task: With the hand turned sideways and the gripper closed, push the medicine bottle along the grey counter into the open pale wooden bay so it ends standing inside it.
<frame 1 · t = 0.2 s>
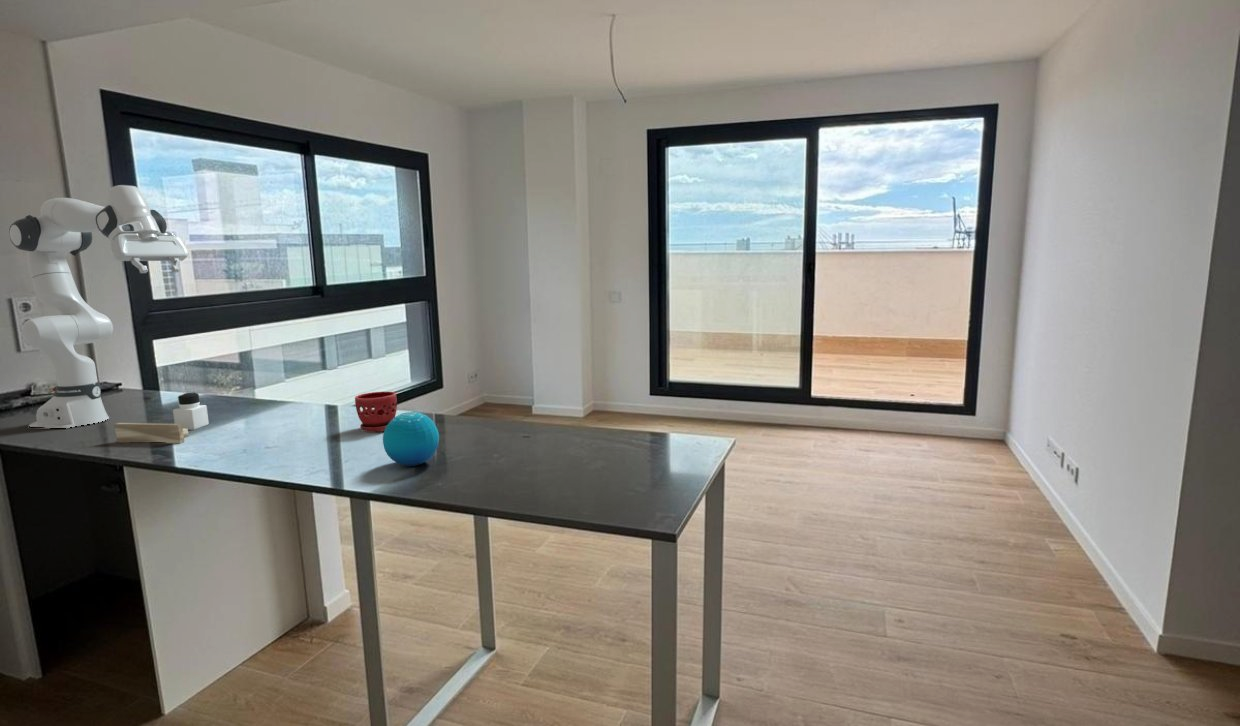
hand: (160, 272, 199), 54 cm above the kitchen counter, tool tilted 30°, fingers open, 8 cm apart
decorative orb: (413, 465, 180), on the kitchen counter
medicine bottle: (192, 427, 222), on the kitchen counter
wooden bay: (164, 437, 210), on the kitchen counter
plant pot: (378, 429, 217), on the kitchen counter
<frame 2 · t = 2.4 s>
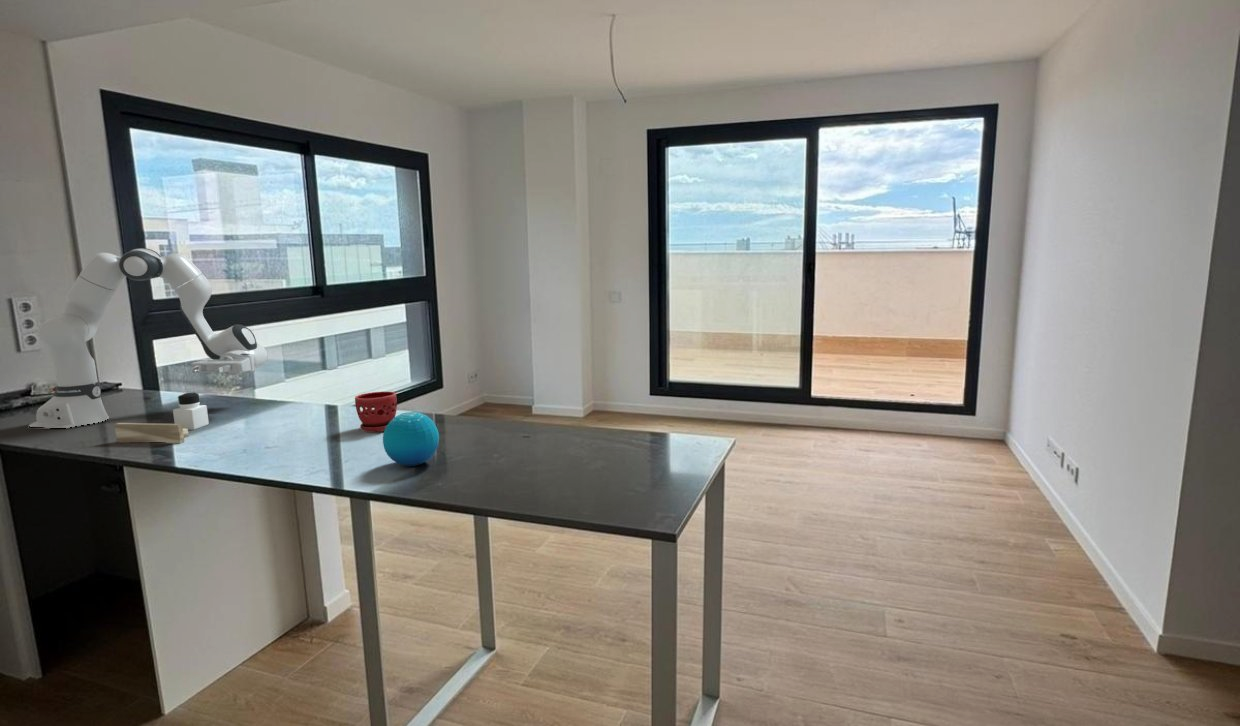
hand: (205, 370, 228), 18 cm above the kitchen counter, tool horizontal, fingers open, 8 cm apart
nothing on the kitchen counter moved.
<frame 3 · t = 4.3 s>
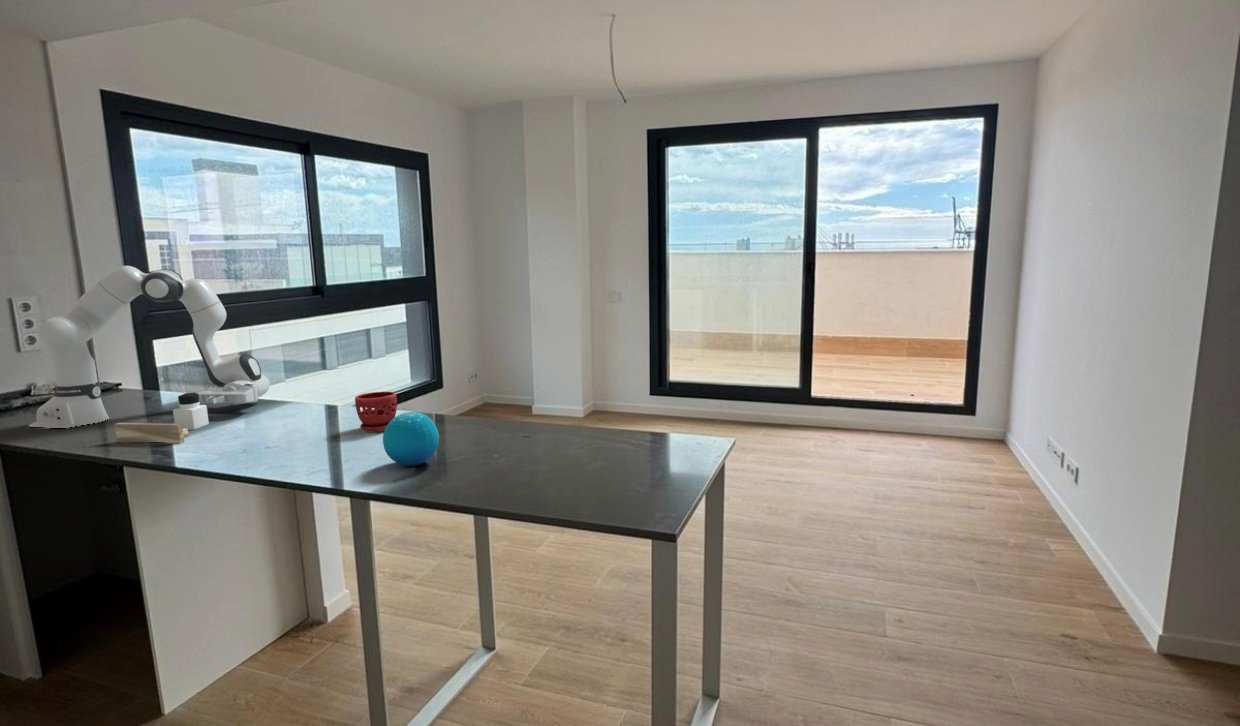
hand: (209, 401, 230), 7 cm above the kitchen counter, tool horizontal, fingers closed
nothing on the kitchen counter moved.
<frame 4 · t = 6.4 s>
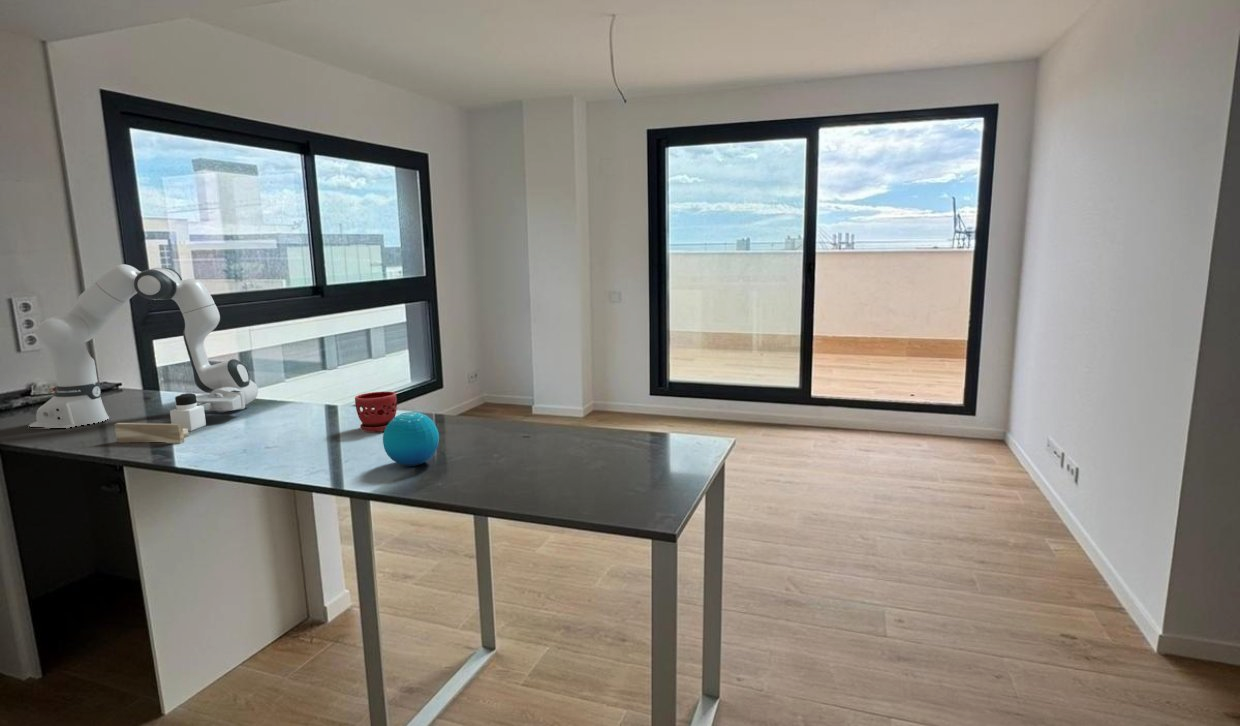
hand: (195, 408, 223), 6 cm above the kitchen counter, tool horizontal, fingers closed, pressing on medicine bottle
medicine bottle: (189, 428, 221), on the kitchen counter, touching gripper
everything else where it was.
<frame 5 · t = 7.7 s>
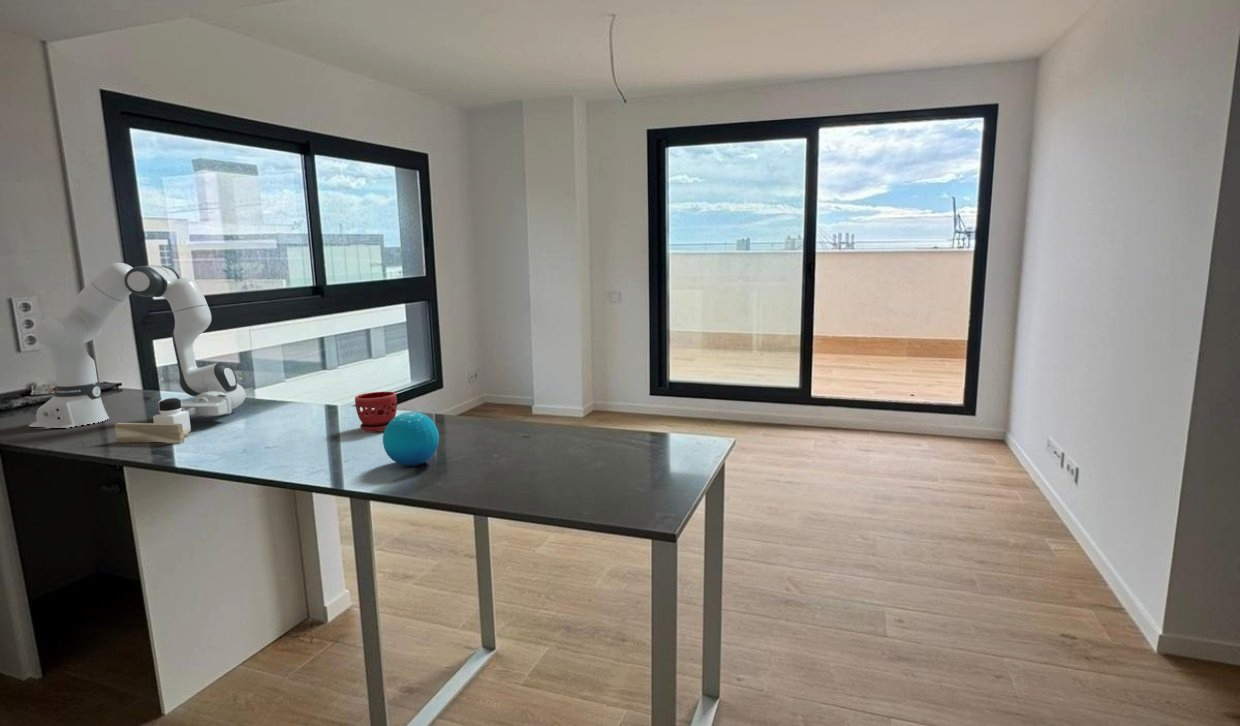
hand: (178, 413, 216), 6 cm above the kitchen counter, tool horizontal, fingers closed, pressing on medicine bottle
medicine bottle: (173, 434, 214), on the kitchen counter, touching gripper
everything else where it was.
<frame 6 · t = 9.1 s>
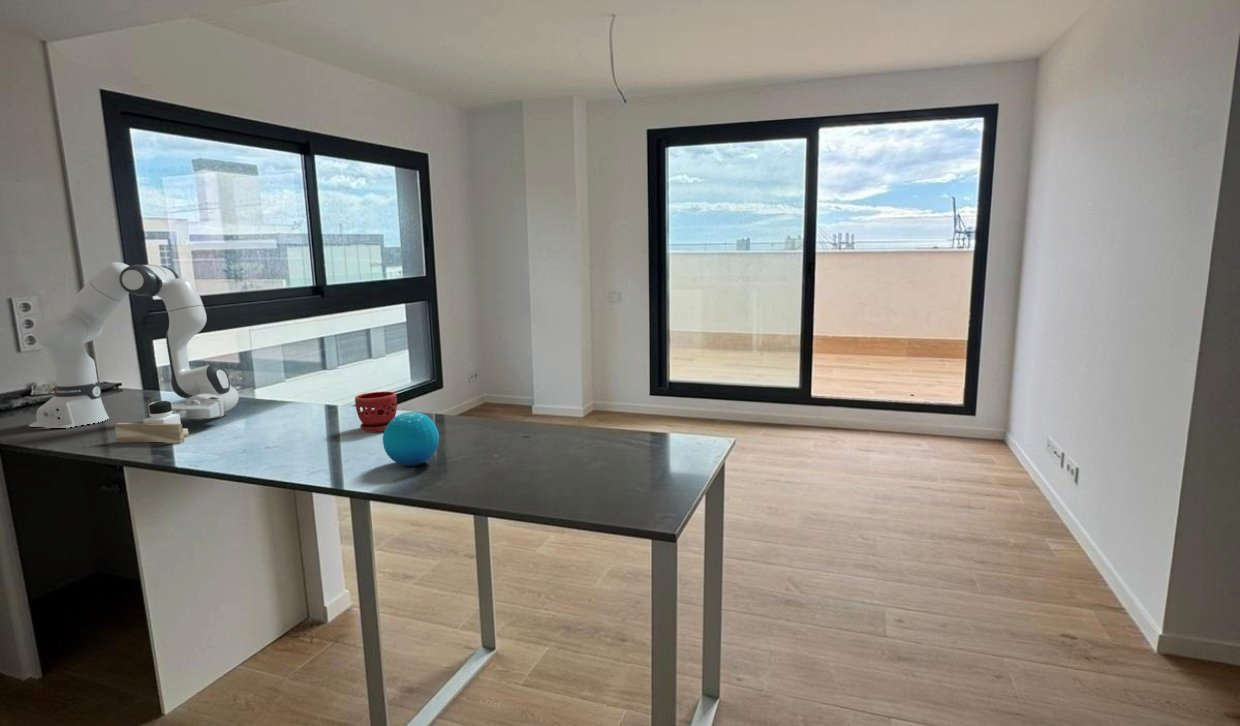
hand: (169, 416, 212), 6 cm above the kitchen counter, tool horizontal, fingers closed, pressing on medicine bottle
medicine bottle: (164, 438, 210), on the kitchen counter, touching gripper
everything else where it was.
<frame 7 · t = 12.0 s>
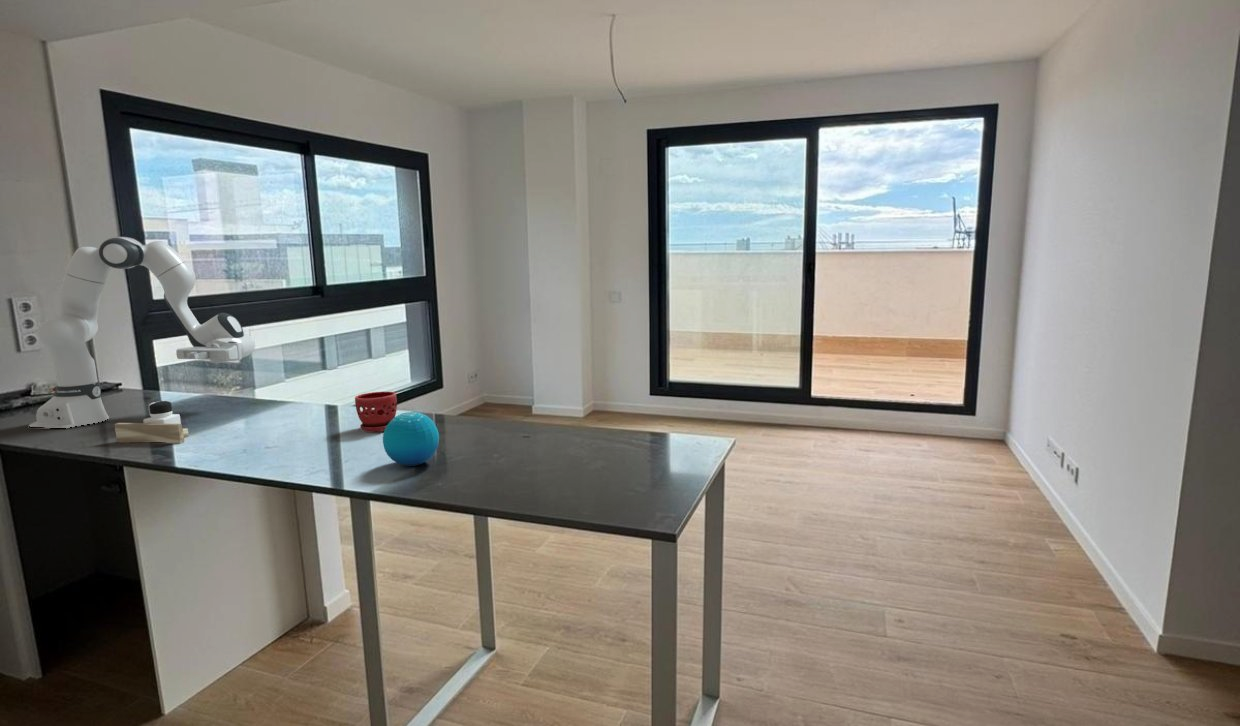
hand: (191, 356, 223), 24 cm above the kitchen counter, tool horizontal, fingers closed
medicine bottle: (164, 438, 210), on the kitchen counter
everything else where it was.
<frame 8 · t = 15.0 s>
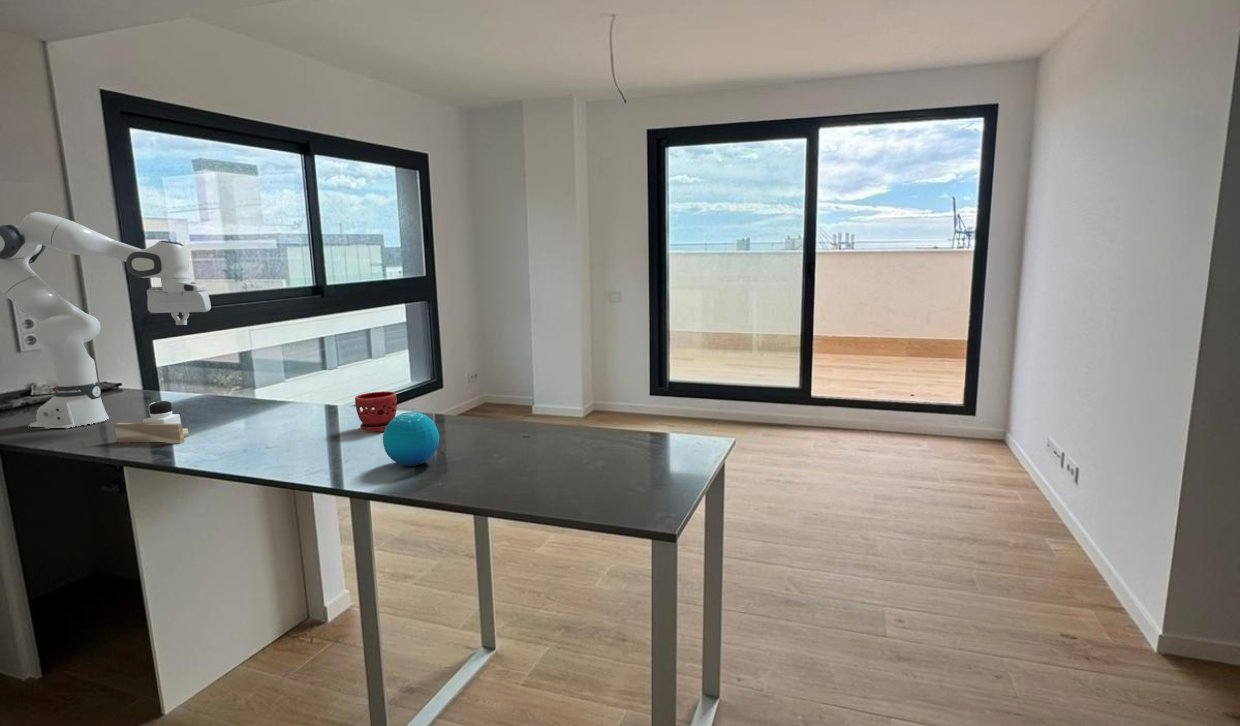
hand: (181, 324, 233), 34 cm above the kitchen counter, tool pointing down, fingers closed
nothing on the kitchen counter moved.
at the end: medicine bottle 0.4 cm off-centre on the wooden bay, point 0.0 cm above the wooden bay's base; medicine bottle tilted 0° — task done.
